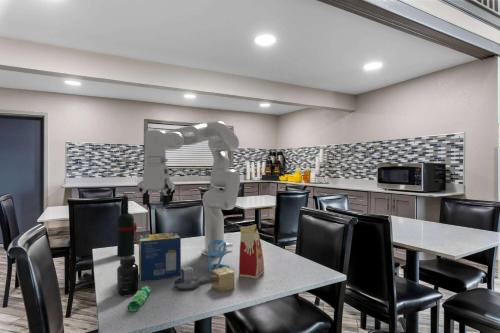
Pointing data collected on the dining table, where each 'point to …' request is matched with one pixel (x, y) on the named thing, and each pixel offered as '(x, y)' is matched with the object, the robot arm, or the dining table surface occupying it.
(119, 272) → the supplement bottle
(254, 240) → the milk carton
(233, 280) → the brown parcel carton
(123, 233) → the wine bottle
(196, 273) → the dining table surface
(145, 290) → the candy
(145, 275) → the protein box
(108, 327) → the dining table surface
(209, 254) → the chair
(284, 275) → the dining table surface
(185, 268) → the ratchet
